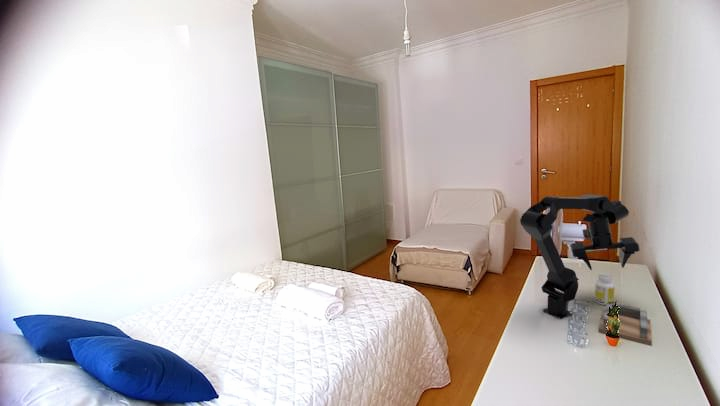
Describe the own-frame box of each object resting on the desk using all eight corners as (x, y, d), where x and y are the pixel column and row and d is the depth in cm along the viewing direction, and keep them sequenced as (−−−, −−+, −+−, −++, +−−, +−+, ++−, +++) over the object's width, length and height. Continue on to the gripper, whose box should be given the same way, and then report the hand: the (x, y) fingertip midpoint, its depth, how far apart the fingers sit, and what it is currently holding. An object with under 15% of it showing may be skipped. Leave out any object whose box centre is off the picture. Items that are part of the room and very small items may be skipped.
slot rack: (651, 345, 90) (652, 331, 90) (598, 332, 98) (599, 319, 97) (649, 323, 101) (650, 310, 100) (602, 312, 108) (602, 301, 108)
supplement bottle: (611, 300, 116) (613, 274, 115) (615, 306, 111) (616, 280, 110) (593, 297, 119) (594, 272, 117) (596, 304, 114) (597, 278, 112)
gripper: (626, 215, 113) (632, 254, 116) (564, 223, 122) (571, 259, 125) (637, 228, 103) (642, 270, 107) (569, 236, 112) (577, 275, 116)
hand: (606, 268), depth 114 cm, fingers open, 9 cm apart
